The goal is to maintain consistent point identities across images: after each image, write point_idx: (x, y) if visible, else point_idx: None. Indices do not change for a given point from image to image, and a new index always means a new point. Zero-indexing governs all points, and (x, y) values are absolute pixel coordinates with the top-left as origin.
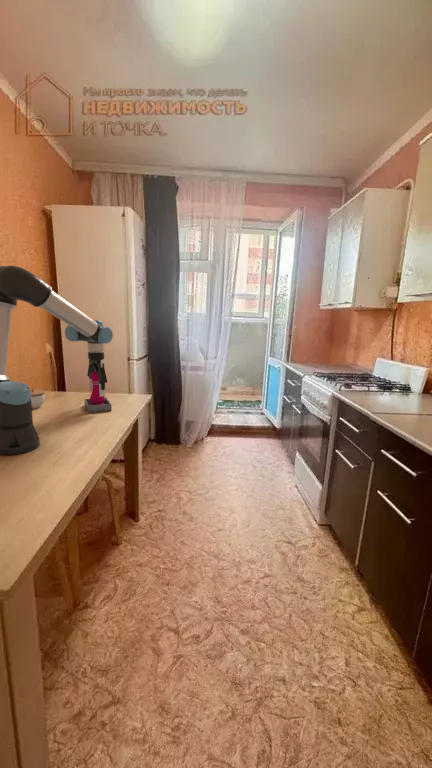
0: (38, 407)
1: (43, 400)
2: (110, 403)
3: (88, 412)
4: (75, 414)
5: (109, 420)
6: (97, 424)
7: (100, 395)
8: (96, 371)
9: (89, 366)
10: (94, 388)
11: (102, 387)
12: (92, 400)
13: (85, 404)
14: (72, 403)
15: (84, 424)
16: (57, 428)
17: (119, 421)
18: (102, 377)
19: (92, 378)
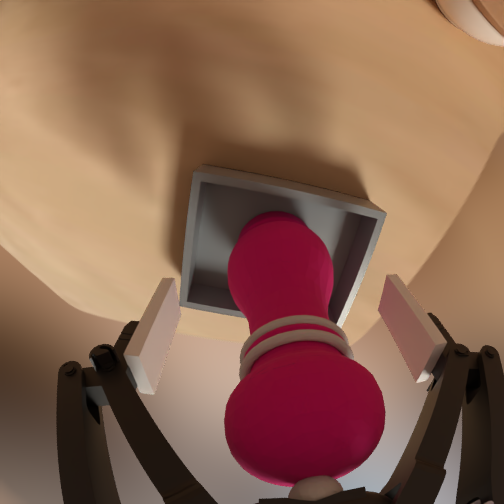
0: (439, 8)
1: (460, 19)
2: (196, 307)
3: (202, 165)
4: (215, 91)
5: (57, 222)
6: (30, 163)
7: (160, 285)
8: (183, 489)
9: (494, 456)
10: (272, 301)
11: (120, 339)
12: (255, 228)
13: (337, 195)
14: (441, 164)
15: (46, 111)
16: (60, 12)
17: (41, 251)
18: (61, 413)
19: (271, 371)
